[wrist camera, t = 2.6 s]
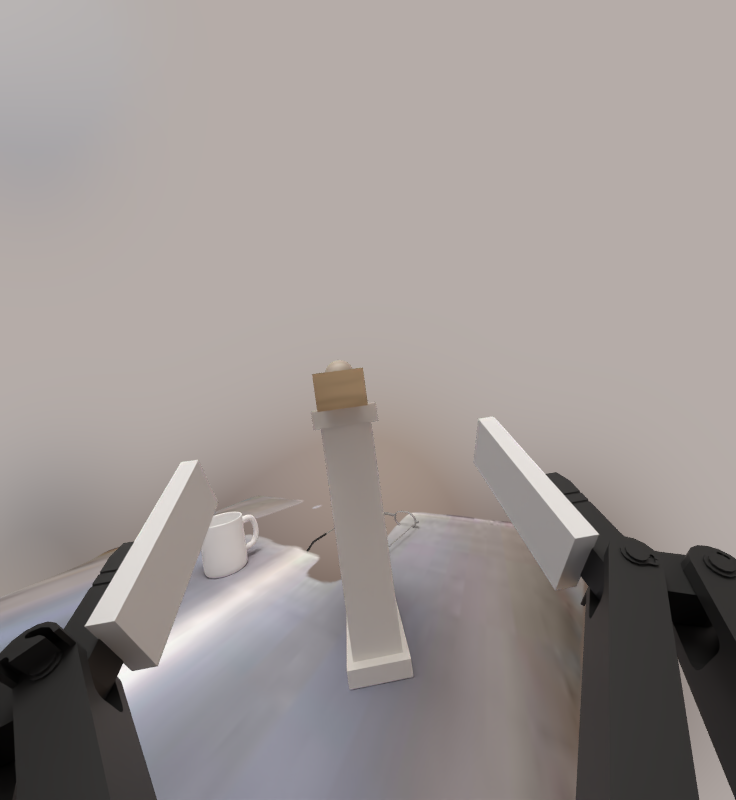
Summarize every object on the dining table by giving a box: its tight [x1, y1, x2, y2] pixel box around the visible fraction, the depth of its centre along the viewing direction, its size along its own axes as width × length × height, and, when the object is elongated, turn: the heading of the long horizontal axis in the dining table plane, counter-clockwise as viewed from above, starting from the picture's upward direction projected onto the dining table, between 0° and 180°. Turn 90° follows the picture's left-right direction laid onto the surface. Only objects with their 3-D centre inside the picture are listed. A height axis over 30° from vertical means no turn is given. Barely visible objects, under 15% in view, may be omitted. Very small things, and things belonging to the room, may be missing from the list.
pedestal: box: [311, 403, 413, 690], centre depth 41 cm, size 15×7×30 cm, turn 4°
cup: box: [201, 512, 259, 578], centre depth 66 cm, size 8×12×10 cm
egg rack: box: [313, 360, 368, 412], centre depth 37 cm, size 24×4×6 cm, turn 4°
